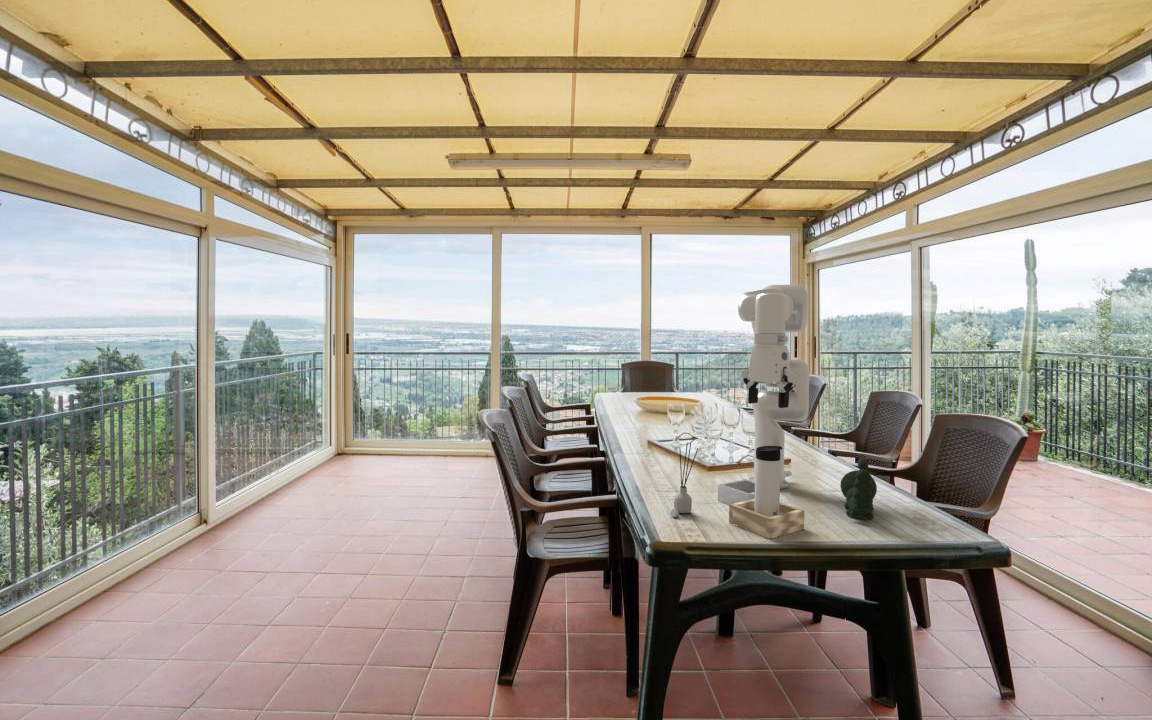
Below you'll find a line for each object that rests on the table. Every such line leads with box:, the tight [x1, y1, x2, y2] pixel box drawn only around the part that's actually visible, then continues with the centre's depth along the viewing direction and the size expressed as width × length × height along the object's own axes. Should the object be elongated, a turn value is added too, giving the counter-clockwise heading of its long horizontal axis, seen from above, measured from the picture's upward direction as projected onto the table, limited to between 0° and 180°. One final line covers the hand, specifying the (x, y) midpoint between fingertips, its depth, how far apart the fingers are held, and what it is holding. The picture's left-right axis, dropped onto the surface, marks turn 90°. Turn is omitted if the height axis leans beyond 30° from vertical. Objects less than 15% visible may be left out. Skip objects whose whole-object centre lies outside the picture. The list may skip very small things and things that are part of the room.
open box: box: [717, 478, 755, 505], centre depth 164 cm, size 12×12×5 cm
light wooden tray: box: [728, 499, 805, 540], centre depth 145 cm, size 13×13×5 cm
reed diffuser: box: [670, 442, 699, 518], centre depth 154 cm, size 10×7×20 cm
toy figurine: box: [840, 457, 878, 521], centre depth 155 cm, size 9×19×25 cm
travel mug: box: [754, 446, 782, 517], centre depth 144 cm, size 6×7×20 cm
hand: (767, 405), depth 144 cm, fingers open, 9 cm apart
